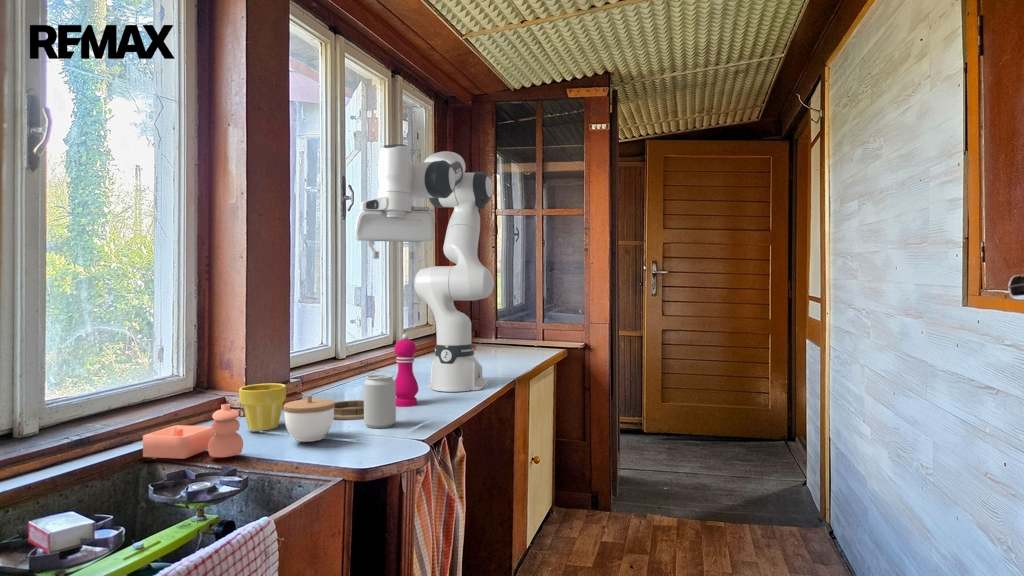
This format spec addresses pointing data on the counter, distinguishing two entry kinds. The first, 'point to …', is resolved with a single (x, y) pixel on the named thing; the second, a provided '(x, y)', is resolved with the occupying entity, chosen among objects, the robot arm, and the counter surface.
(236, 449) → the pottery
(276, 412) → the plant pot
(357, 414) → the stand
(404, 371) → the pepper mill
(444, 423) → the counter surface
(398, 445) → the counter surface
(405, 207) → the robot arm
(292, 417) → the lidded jar
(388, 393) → the can
